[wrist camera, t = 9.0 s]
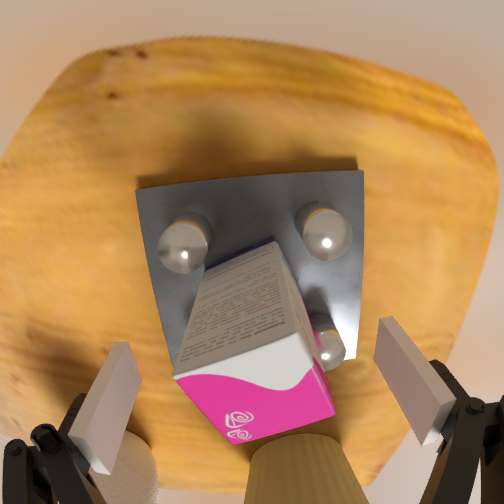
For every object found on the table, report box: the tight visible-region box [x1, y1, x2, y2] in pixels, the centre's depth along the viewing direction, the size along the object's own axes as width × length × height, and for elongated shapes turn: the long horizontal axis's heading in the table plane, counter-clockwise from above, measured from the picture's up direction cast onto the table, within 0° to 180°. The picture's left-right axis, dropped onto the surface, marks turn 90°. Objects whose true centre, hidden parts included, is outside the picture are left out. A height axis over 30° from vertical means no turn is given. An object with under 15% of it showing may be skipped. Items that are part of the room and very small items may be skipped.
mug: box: [58, 430, 158, 504], centre depth 25 cm, size 15×11×13 cm
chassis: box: [135, 169, 364, 371], centre depth 22 cm, size 16×16×4 cm
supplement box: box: [172, 239, 336, 444], centre depth 18 cm, size 6×6×12 cm
